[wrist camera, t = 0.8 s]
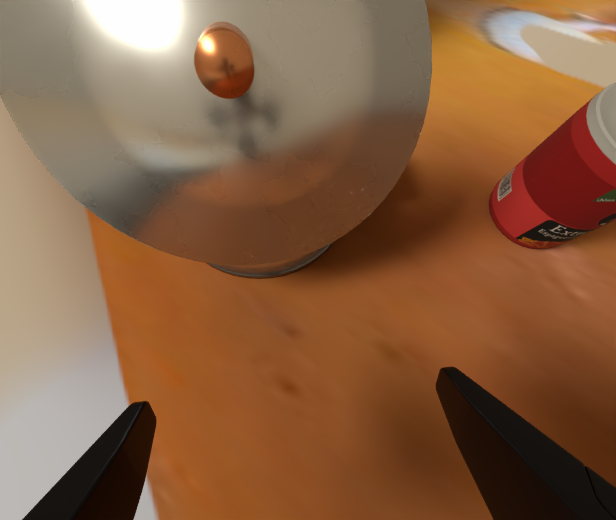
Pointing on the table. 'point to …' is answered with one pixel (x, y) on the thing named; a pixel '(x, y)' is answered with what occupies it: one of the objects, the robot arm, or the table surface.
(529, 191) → the canned food
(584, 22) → the table surface
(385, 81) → the cooker lid
